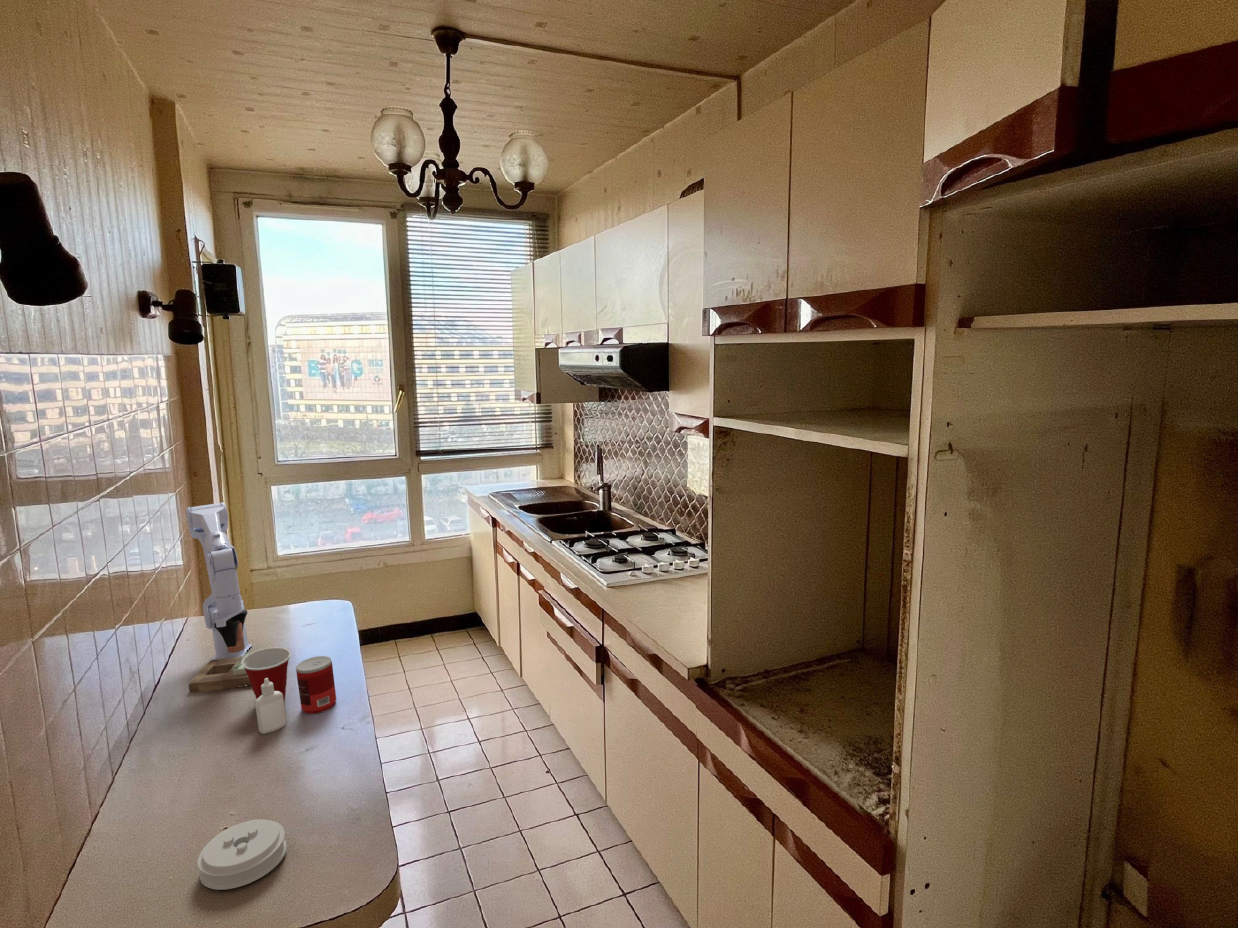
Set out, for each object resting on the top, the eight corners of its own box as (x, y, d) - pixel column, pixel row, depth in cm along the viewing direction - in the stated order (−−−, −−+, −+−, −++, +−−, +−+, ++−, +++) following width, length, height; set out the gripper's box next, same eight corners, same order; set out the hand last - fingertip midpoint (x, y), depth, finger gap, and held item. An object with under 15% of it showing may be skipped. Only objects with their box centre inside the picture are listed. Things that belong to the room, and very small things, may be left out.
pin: (238, 645, 186) (235, 620, 185) (248, 647, 184) (245, 623, 183) (224, 651, 183) (221, 626, 182) (233, 653, 181) (230, 628, 180)
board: (212, 668, 189) (210, 660, 188) (282, 660, 192) (280, 652, 191) (189, 692, 175) (188, 683, 175) (265, 684, 178) (264, 674, 178)
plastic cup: (260, 718, 161) (253, 670, 159) (239, 705, 167) (232, 659, 165) (305, 698, 169) (299, 652, 167) (283, 687, 176) (277, 643, 174)
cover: (247, 658, 188) (246, 652, 188) (282, 654, 190) (281, 648, 189) (233, 675, 178) (232, 668, 178) (270, 670, 180) (269, 664, 179)
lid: (300, 835, 120) (296, 809, 119) (265, 891, 108) (261, 863, 107) (226, 840, 120) (222, 814, 119) (183, 897, 107) (178, 869, 107)
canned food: (342, 697, 169) (337, 655, 167) (325, 714, 161) (320, 670, 159) (313, 697, 170) (307, 655, 168) (294, 714, 162) (288, 670, 160)
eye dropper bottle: (285, 729, 155) (278, 680, 153) (258, 735, 153) (250, 685, 151) (287, 720, 159) (281, 671, 157) (260, 726, 157) (253, 677, 155)
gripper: (221, 586, 187) (228, 633, 190) (199, 605, 173) (207, 655, 176) (249, 583, 189) (255, 630, 191) (230, 602, 175) (237, 652, 177)
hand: (234, 642), depth 183 cm, fingers closed on pin, 4 cm apart
